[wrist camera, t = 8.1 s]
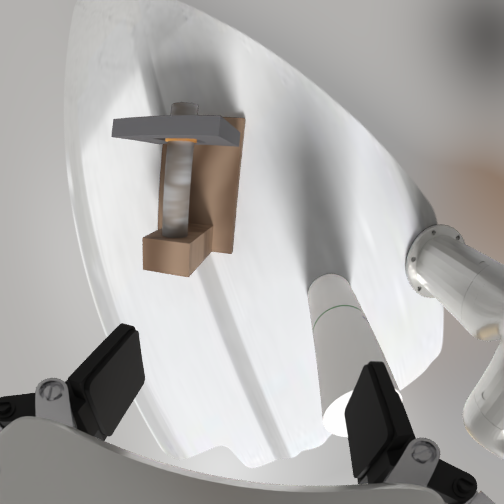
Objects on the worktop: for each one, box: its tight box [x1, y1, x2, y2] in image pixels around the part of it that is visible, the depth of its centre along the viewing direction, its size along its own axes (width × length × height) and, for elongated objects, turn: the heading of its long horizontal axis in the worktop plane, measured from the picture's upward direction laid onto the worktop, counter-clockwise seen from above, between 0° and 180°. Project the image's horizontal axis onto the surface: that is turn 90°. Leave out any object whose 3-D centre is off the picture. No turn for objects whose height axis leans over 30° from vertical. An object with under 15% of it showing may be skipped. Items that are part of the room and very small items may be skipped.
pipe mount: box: [143, 102, 245, 277], centre depth 35 cm, size 12×20×12 cm, turn 174°
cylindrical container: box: [308, 274, 402, 437], centre depth 31 cm, size 7×7×25 cm
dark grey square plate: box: [112, 115, 240, 147], centre depth 30 cm, size 12×2×12 cm, turn 84°
